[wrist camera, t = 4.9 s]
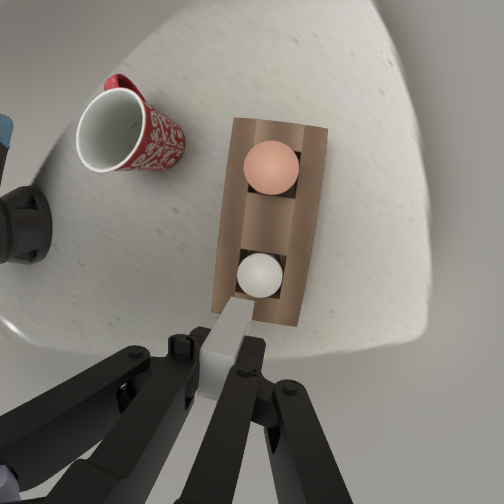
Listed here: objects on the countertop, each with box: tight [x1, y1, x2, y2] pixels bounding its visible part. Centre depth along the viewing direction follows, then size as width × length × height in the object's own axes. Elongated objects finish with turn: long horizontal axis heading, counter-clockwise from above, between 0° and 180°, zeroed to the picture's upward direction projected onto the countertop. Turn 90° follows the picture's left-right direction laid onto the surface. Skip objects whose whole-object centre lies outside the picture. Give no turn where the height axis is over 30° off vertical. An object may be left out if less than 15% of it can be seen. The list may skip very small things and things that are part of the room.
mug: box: [76, 74, 185, 173], centre depth 30 cm, size 13×9×14 cm
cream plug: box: [237, 251, 282, 298], centre depth 33 cm, size 5×5×7 cm
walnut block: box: [211, 117, 328, 327], centre depth 33 cm, size 10×22×7 cm, turn 172°
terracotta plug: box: [244, 141, 299, 195], centre depth 27 cm, size 5×5×7 cm
